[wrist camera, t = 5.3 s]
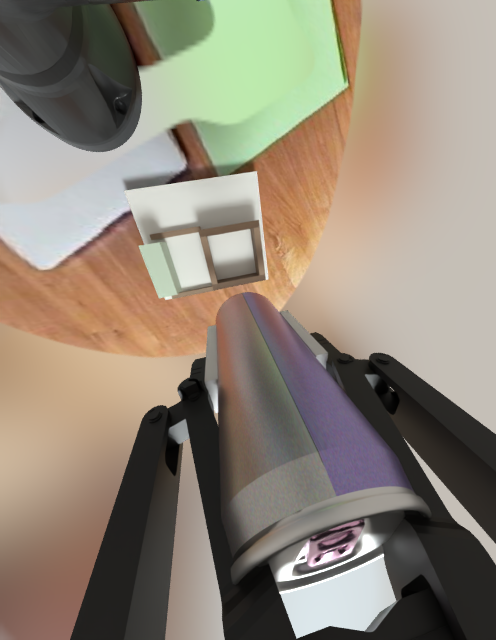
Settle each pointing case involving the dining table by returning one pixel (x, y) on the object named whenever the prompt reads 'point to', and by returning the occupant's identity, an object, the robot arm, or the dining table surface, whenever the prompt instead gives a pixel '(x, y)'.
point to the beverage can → (297, 457)
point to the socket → (257, 252)
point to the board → (201, 226)
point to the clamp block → (161, 269)
